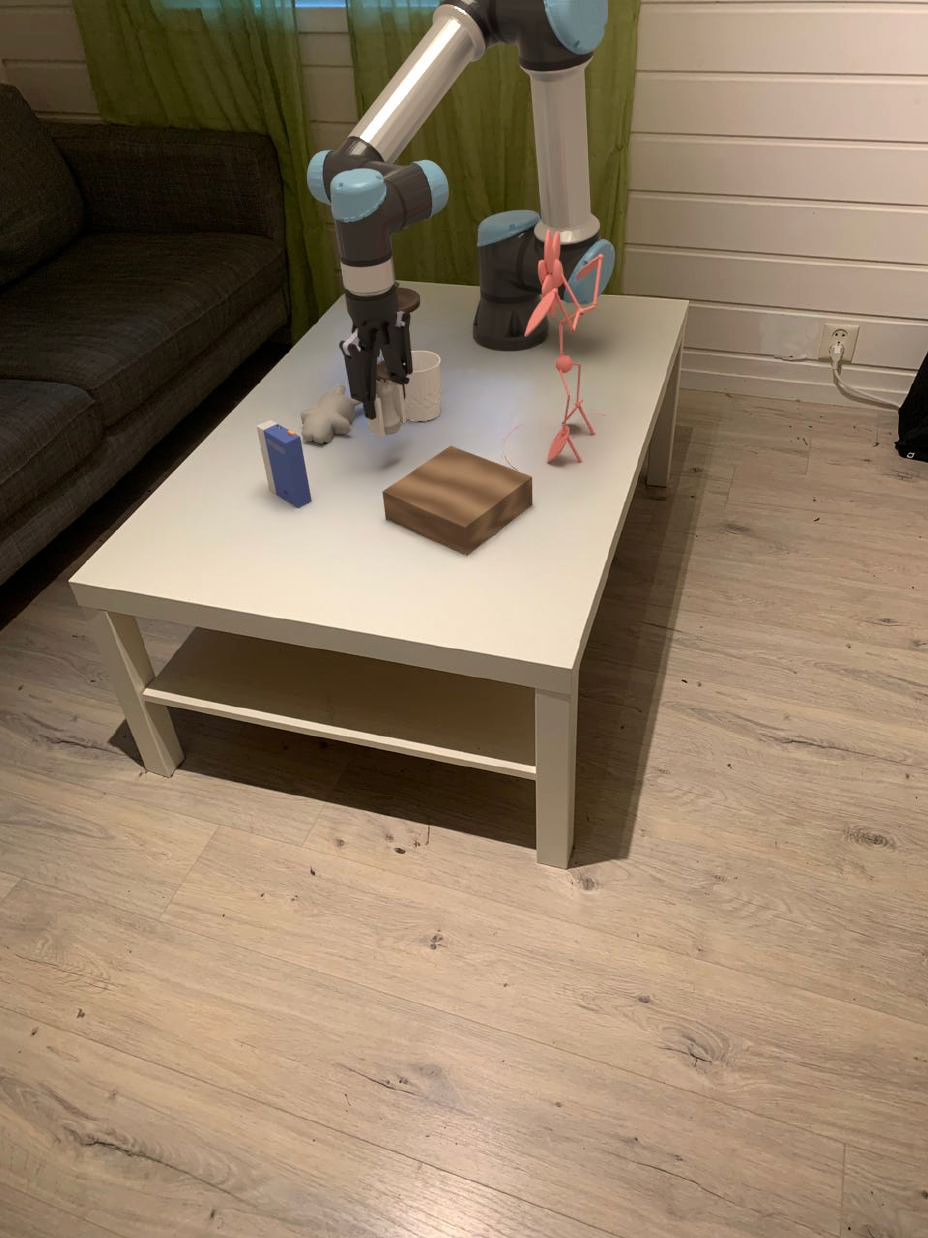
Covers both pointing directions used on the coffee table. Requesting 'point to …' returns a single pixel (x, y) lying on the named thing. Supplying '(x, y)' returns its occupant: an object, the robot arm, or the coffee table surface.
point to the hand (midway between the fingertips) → (388, 426)
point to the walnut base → (458, 499)
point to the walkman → (284, 463)
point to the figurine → (561, 324)
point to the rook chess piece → (388, 407)
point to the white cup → (423, 387)
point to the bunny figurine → (329, 416)
